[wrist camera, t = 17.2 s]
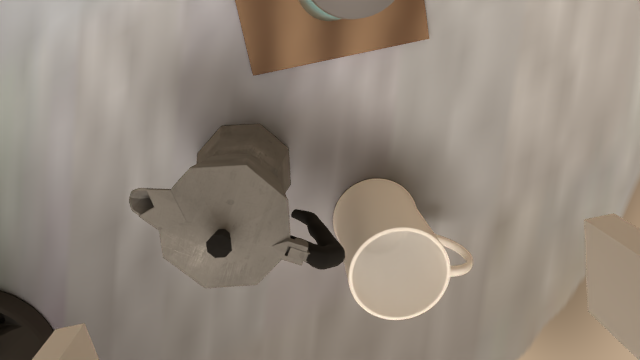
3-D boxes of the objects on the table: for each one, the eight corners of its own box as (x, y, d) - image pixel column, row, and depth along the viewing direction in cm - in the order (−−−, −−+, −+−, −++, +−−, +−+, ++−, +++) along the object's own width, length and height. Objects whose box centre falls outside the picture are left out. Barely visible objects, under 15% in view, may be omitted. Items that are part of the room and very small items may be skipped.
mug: (458, 195, 49) (508, 245, 38) (432, 270, 52) (472, 338, 40) (345, 169, 48) (361, 213, 36) (323, 247, 50) (333, 312, 39)
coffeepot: (164, 190, 48) (93, 282, 30) (191, 98, 45) (130, 142, 28) (314, 238, 50) (326, 348, 33) (347, 152, 47) (379, 223, 30)
